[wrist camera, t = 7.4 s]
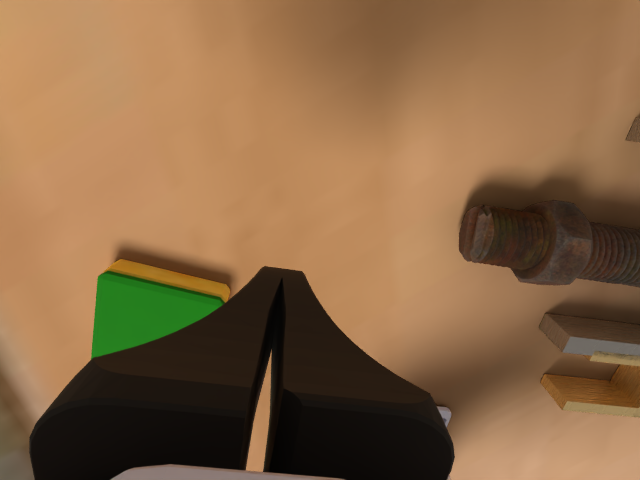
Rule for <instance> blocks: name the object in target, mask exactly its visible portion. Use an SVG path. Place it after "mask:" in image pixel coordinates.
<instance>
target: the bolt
mask: <svg viewBox="0 0 640 480" xmlns="http://www.w3.org/2000/svg"><path fill="white" fill-rule="evenodd" d="M459 251H460V253H461V254H462V255H463V257H464V259H465V260H466V261H472V262H474V263H484V264H490V265H497V266H502V267H509V268H511V270H512V271H513V273H514V274H515V276H516V277H517V278H518V280H519V281H520V282H525V283H532V284H540V285H568V284H571V283H572V282H573V281H574V280H575V279H576V278H580V279H588V280H594V281H601V282H607V283H615V284H624V285H630V286H636V287H640V230H636V229H630V228H624V227H618V226H612V225H606V224H600V223H593V222H588V220H587V218H586V217H585V216H584V214H583V213H582V212H581V211H580V210H579V208H578V207H577V206H576V205H575V204H574V203H569V202H562V201H556V200H552V201H546V202H540V203H536V204H533V205H531V206H528V207H527V208H525V209H524V210H523V211H518V210H516V211H515V210H511V209H510V210H509V209H503V208H496V207H491V206H484V205H482V204H481V205H478V206H476V207H473V208H471V209H470V210H468V211H467V212H466V215H465V217H464V220H463V222H462V225H461V228H460V233H459Z"/></svg>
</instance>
